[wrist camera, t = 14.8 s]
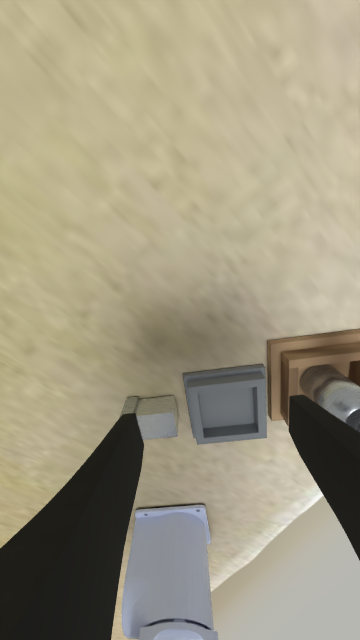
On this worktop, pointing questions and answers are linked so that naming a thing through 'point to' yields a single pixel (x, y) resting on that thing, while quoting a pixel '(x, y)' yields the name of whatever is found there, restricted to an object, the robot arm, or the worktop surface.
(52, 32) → the worktop surface
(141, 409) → the grey stepped block
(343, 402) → the stepped metal cylinder
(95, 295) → the worktop surface
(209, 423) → the grey square tray
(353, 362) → the brown square tray
